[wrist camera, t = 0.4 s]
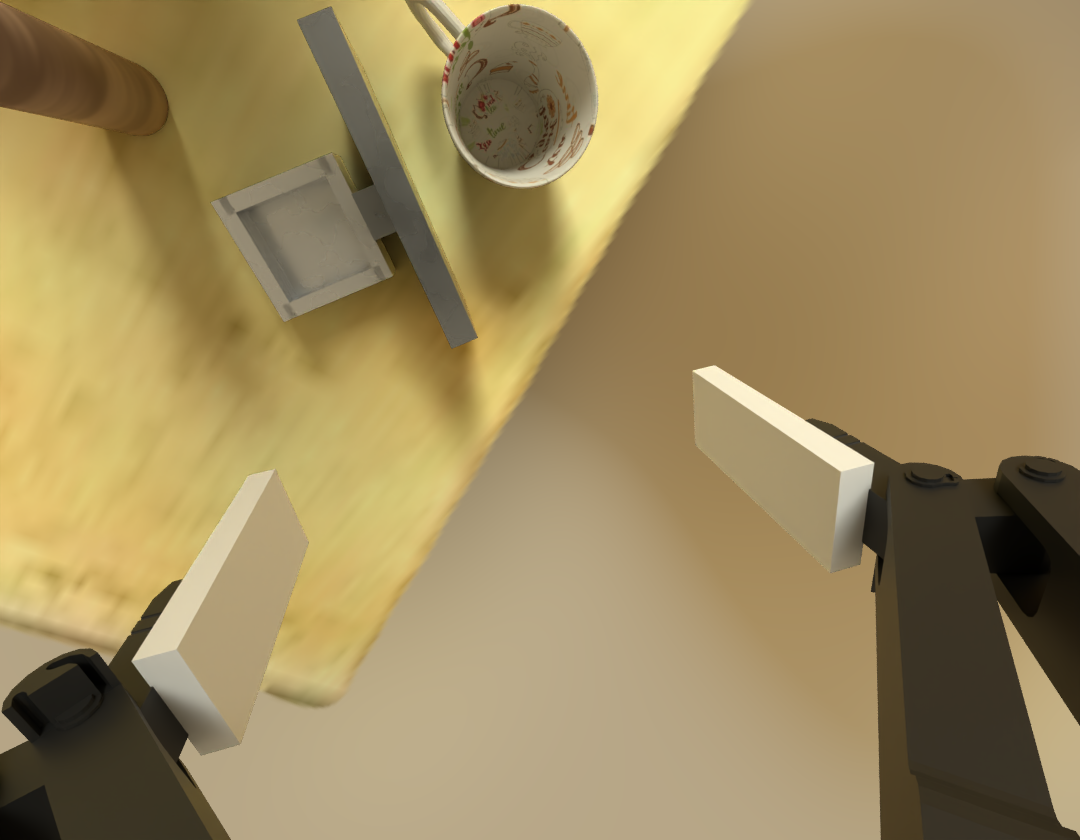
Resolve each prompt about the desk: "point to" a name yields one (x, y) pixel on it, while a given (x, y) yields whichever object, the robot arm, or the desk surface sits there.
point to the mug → (514, 91)
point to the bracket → (341, 208)
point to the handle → (74, 78)
